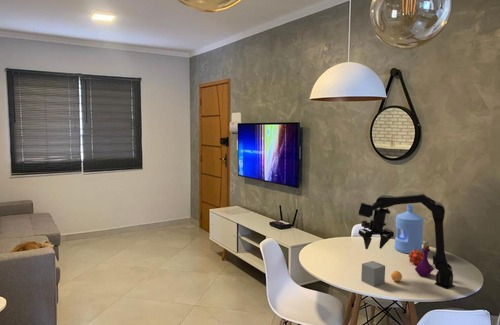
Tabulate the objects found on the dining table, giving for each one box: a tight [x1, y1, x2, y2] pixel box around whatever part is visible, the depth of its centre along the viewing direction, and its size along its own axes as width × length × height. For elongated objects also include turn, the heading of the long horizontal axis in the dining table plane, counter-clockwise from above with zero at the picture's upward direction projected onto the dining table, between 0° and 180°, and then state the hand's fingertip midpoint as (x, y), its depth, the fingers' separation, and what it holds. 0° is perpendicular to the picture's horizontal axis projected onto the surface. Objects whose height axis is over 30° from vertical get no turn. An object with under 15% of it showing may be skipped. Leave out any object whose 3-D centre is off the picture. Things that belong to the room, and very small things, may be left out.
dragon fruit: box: [408, 250, 424, 267], centre depth 209 cm, size 8×8×12 cm
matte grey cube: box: [360, 260, 386, 287], centre depth 185 cm, size 8×8×9 cm
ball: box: [390, 270, 403, 282], centre depth 187 cm, size 5×5×5 cm
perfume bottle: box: [414, 240, 435, 277], centre depth 194 cm, size 8×8×18 cm
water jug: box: [394, 204, 424, 255], centre depth 231 cm, size 16×16×28 cm
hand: (373, 248), depth 195 cm, fingers open, 9 cm apart
